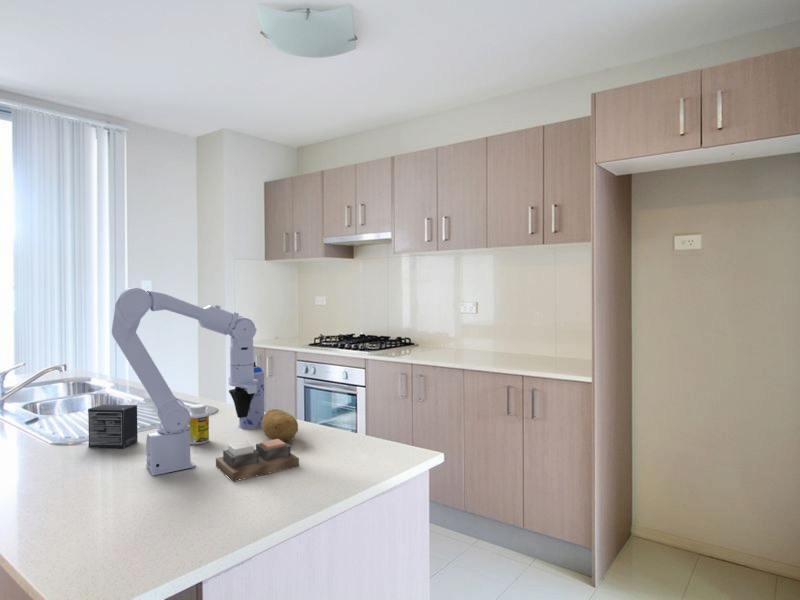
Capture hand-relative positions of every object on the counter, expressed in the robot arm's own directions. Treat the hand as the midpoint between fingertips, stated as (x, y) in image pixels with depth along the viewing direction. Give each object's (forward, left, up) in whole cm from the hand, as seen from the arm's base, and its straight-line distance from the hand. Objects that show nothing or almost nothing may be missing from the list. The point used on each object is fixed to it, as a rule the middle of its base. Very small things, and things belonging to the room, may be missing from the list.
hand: (242, 416), depth 129 cm
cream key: (-4, -10, -6) cm, 12 cm away
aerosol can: (+12, +25, -10) cm, 30 cm away
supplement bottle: (-6, +18, -10) cm, 21 cm away
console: (0, -10, -10) cm, 14 cm away
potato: (+13, +6, -10) cm, 18 cm away
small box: (-25, +30, -10) cm, 40 cm away
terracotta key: (+4, -10, -7) cm, 13 cm away
